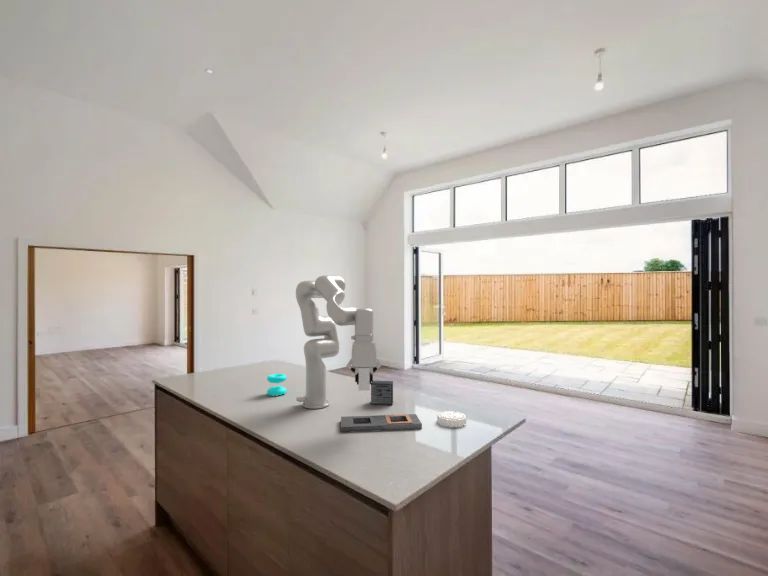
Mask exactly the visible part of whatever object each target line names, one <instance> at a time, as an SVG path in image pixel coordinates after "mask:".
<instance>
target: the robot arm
mask: <svg viewBox="0 0 768 576" xmlns="http://www.w3.org/2000/svg"><path fill="white" fill-rule="evenodd" d="M345 289H346V282H345V280H344V279H343V277H341V275H321V276H318V277H317V278H316V279H315V280H304V281H300V282H299V283H298V284H297V286H296V288H295V298H296V302H297V304H298V307H299V309H300V316H301V321H302V326H303V327H302V328H303V332H304V335H305V336H306V337H309V338H314V339H310V340H307V341H306V342H305V343H304V346H303V352H304V358H305V359H304V360H305V395H303V396H296V402H298V403H302V407H303V408H306V409H310V410H311V409H312V410H313V409H314V410H315V409H316V410H317V409H324V408H327V407H329V406H330V401H329V400H327V367H326V364H325V363H324V361H323V359H328V358H333V357H337V355H338V354H339V353H340V341H339V338H338V331H337V326H340V327H344V326H345V327H346V326H354V335H351V337H350V339H351V340H353V341H352V347H351V358H350V360H349V361H348V362H347V363H346V368H347V369H349V370H351V372H352V373H353V374H354V379H355V380H354V382H355V383H356V385H357V386H358V384H359V374H358V369H359V368H365V367H370V385H371V382H373V381H374V379H373V378H374V377H373V376H374V373H375V372H376V371H377V370H379V369H380V368H381V367H382V364H381V362H380V361H379V360H378V358H377V357H378V356H377V346H376V342H375V341H374V311H373V309H371V308H368V307H367V308H366V307H365V308H364V307H359V306H357V307H355V306H354V307H352V306H351V307H350V306H349V307H348V306H347V307H341V306H340V305H341V304H342V303H343V301H345V300H344V299H345V297H346V294H345V292H344V291H345ZM312 299H324V300H325V301H326V305H325V307H326V313H327V316H320V311H319V308H318V306H317V304H316V303H315V301H314V300H312ZM336 325H337V326H336ZM315 337H324V338H315Z"/></svg>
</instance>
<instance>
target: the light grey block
mask: <svg viewBox="0 0 768 576" xmlns="http://www.w3.org/2000/svg"><path fill="white" fill-rule="evenodd" d="M358 374H359V384H358V385H357V386H358V387H357V389H358V391H359V392H360V391H371V384H370V367H365V368H359V369H358Z"/></svg>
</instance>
